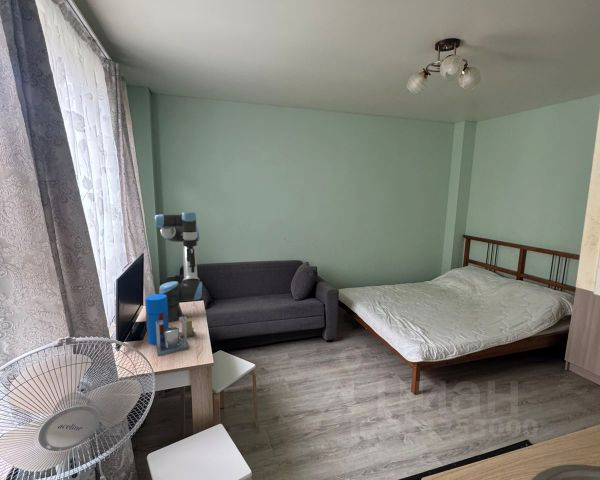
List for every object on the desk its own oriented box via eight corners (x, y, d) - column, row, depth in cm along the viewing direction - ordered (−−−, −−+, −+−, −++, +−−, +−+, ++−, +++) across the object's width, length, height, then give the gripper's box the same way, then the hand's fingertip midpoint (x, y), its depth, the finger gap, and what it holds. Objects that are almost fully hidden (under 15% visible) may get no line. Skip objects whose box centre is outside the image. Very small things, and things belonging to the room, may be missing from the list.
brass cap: (186, 338, 170) (185, 323, 169) (175, 336, 172) (174, 321, 171) (198, 330, 180) (197, 316, 179) (187, 329, 182) (187, 314, 181)
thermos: (145, 339, 171) (143, 296, 167) (165, 334, 178) (163, 292, 174) (150, 346, 162) (148, 301, 159) (171, 340, 169) (169, 297, 166)
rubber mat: (179, 334, 178) (178, 332, 178) (193, 331, 181) (193, 329, 181) (180, 339, 171) (180, 338, 171) (195, 336, 174) (195, 335, 174)
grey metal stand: (156, 346, 163) (154, 318, 161) (186, 340, 170) (185, 313, 168) (157, 356, 153) (155, 326, 151) (189, 349, 160) (188, 320, 158)
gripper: (180, 236, 184) (182, 270, 188) (185, 242, 162) (187, 281, 166) (193, 235, 188) (194, 269, 191) (200, 242, 166) (201, 279, 169)
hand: (191, 274), depth 178 cm, fingers open, 13 cm apart
